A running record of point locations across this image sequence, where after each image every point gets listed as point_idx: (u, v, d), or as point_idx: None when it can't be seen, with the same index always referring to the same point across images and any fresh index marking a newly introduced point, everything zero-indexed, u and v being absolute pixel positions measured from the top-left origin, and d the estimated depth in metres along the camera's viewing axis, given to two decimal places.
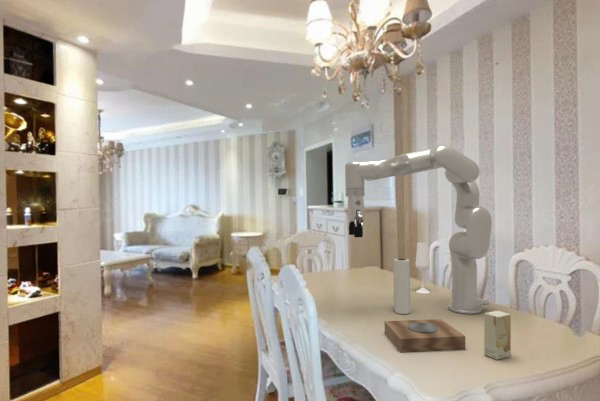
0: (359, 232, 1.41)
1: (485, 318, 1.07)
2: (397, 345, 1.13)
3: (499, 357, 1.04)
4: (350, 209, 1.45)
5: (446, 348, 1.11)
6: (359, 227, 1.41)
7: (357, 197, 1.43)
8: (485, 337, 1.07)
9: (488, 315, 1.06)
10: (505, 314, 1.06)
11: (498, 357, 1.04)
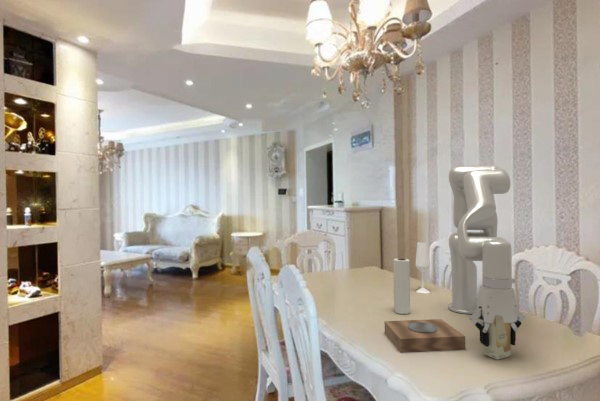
0: None
1: None
2: (397, 345, 1.13)
3: (499, 357, 1.04)
4: (509, 307, 1.05)
5: (446, 348, 1.11)
6: None
7: None
8: None
9: None
10: None
11: (499, 357, 1.04)
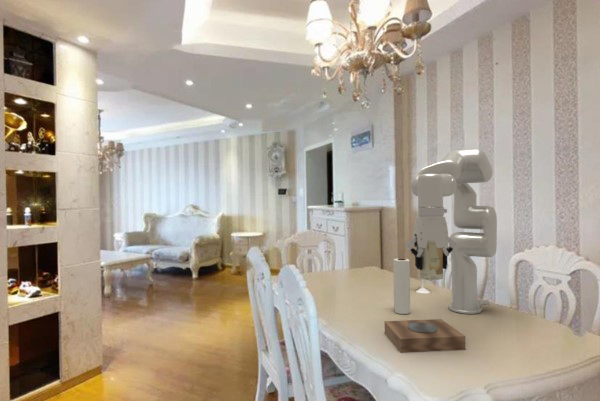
0: None
1: None
2: (397, 345, 1.13)
3: (431, 278, 1.14)
4: (440, 233, 1.15)
5: (446, 348, 1.11)
6: None
7: None
8: None
9: None
10: None
11: (431, 278, 1.14)
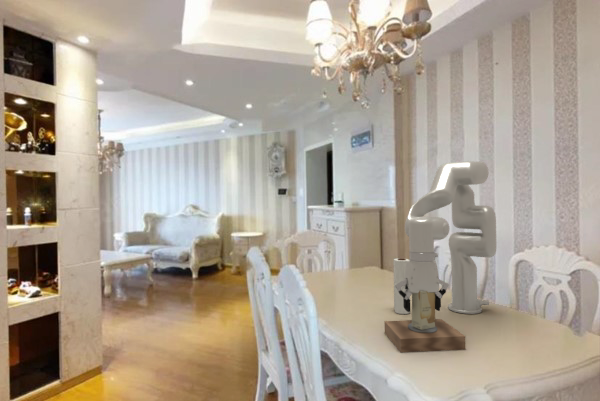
0: None
1: (412, 293, 1.19)
2: (397, 345, 1.13)
3: (423, 327, 1.16)
4: (431, 278, 1.16)
5: (446, 348, 1.11)
6: None
7: None
8: (412, 310, 1.19)
9: None
10: None
11: (422, 327, 1.16)
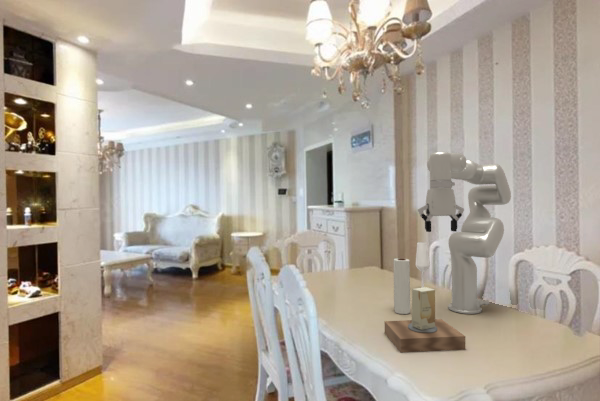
0: None
1: (412, 293, 1.19)
2: (397, 345, 1.13)
3: (423, 327, 1.16)
4: (449, 202, 1.35)
5: (446, 348, 1.11)
6: None
7: None
8: (412, 310, 1.19)
9: (414, 290, 1.18)
10: (430, 289, 1.18)
11: (422, 327, 1.16)
